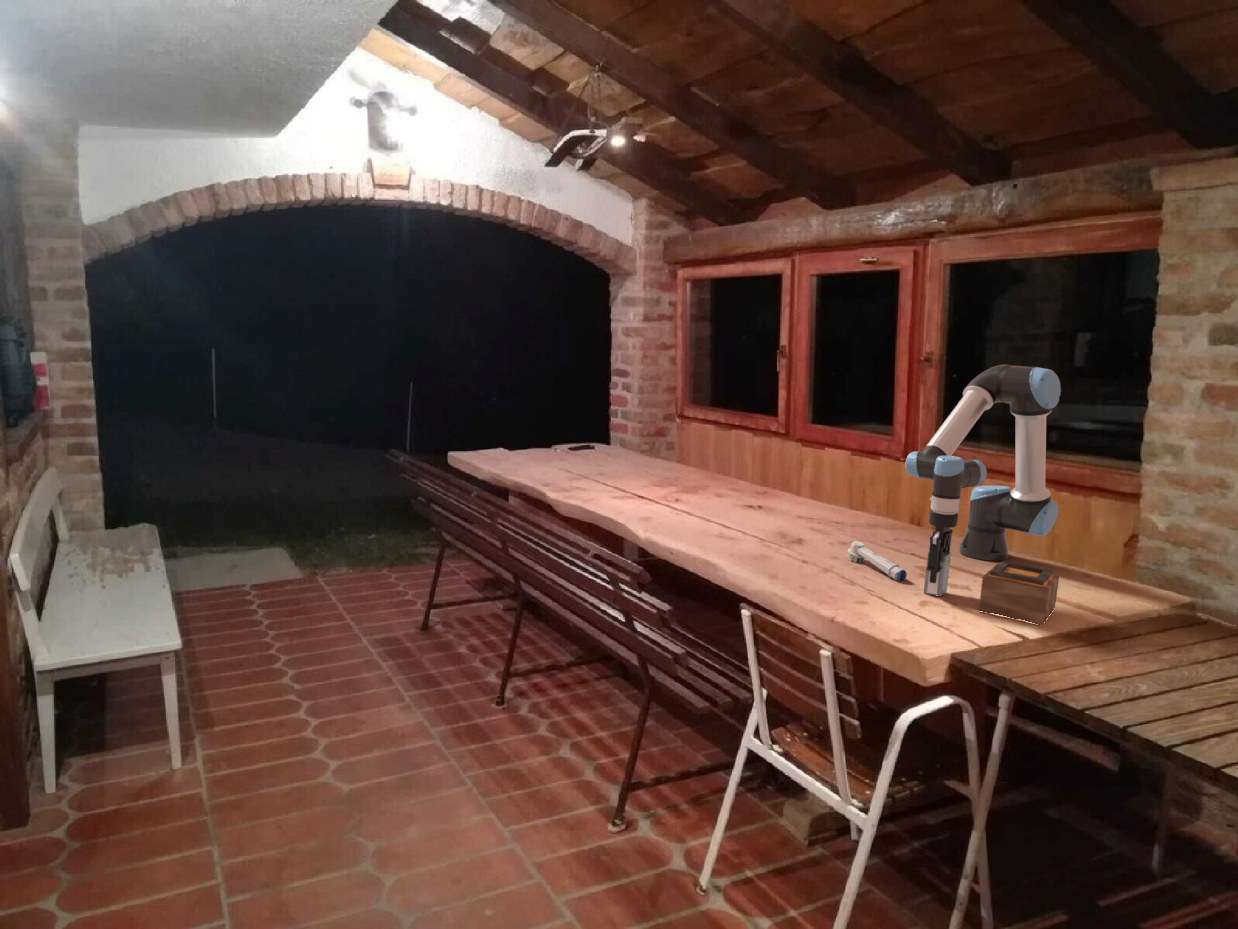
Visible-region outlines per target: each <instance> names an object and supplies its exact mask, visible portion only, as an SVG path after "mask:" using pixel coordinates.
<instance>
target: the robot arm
mask: <svg viewBox="0 0 1238 929" xmlns="http://www.w3.org/2000/svg"><path fill="white" fill-rule="evenodd" d="M1061 388H1062V387H1061V382H1060V379H1059V376H1058V375H1057V374H1056V373H1055V371H1054V370H1052V369H1049V368H1044V367H1043V368H1042V367H1039V366H1023V365H1011V364H999V365H995V366H992V367H990V368H988V369H986V370H984V371H982V372H981V373H980V374H978V375H977V376H976V377H974V378H973V379H972V380H971V381H970V382H969V383H968V384H967V385H966V387H965V388H964V389H963V392H962V397H961V399H960V400H959V401H958V403H957V405H955V406H954V408H953V410H952V411H951V412H950V414H948V416H947V418H946V419H945V420H944V422H943V423H942V424H941V426H940V427H939V428H938V430H937V431H936V432H935V433H934V435H933V436H932V438H931V439H930V440H929V442H928V443H927V444H926V445H925V447H923V449H922V450H921V451H919V450H918V451H915V450H914V451H912V452H910V453H909V454H908V455H907V457H906V459H905V463H904V464H905V465H904V467H905V468H904V469H905V471H906V473H907V474H908V475H909V476H911V477H915V478H919V479H923V480H929V481H933V482H932V483H933V484H932V492H931V497H929V501H930V502H931V503H930V509H931V510H930V511H929V517H928V524H930V526H934V528H935V529H934V530H933V531H932V535H931V536H930V537H929V549H928V550H929V551H928V552H929V558H928V567H927V568H925V571H926V570H928V571H929V579H928V588H927V593H932V594H936V595H937V594H938V585H939V576H940V572H939V567H940V562H941V555H942V551H944V552H951V544H952V543H951V542H952V536H953V533H954V530H953V529H952V528H956V527H957V526H958V520H959V514H958V512H960V502H961V494H962V493H961V492H962V489H965V488H972V490H971V496H970V499H969V501H970V502H969V510H968V511H969V512H968V519H967V528H966V531H965V533H964V535H963V538H962V539H961V541H960V543H959V546H958V547H959V548H958V552H959V553H960V554H961V555H963V556H966V557H968V558H973V559H975V560H981V561H982V560H983V561H991V562H992V561H993V562H995V561H996V562H997V561H998V562H999V561H1000V562H1001V561H1006V560H1007V559H1008V558H1009V548H1008V543H1007V539H1006V538H1007V537H1006V530H1011V531H1015V532H1019V533H1023V534H1026V535H1027V534H1028V535H1029V536H1032V535H1033V536H1037V537H1038V536H1040V537H1044V536H1046V535H1047V534H1048V533H1050V531H1051V530H1052V529H1053V527H1054V525H1055V524H1056V521H1057V518H1058V515H1059V505H1058V503H1057V501H1055V500H1051V498H1052V497H1051V495H1052V494H1051V491H1050V490H1049V489H1048V488H1046V467H1047V466H1046V464H1047V462H1046V458H1047V457H1046V456H1047V455H1046V452H1047V416H1049V415H1050V414H1051V413H1052V412H1053V409H1054V408H1056V406H1057V405H1058V404H1059V401H1060V397H1061V392H1062V390H1061ZM997 403H1002V404H1003V403H1005V404H1008V405H1009V411H1010V413H1011V415H1013V416H1014V418H1015V420H1014V421H1015V426H1014V427H1015V429H1014V430H1015V432H1014V433H1015V437H1014V438H1015V440H1014V441H1015V444H1014V445H1015V447H1014V448H1015V451H1014V452H1015V455H1014V456H1015V467H1014V468H1015V471H1014V472H1015V473H1014V474H1015V477H1014V479H1015V480H1014V481H1015V482H1014V483H1015V487H1014V488H1013V489H1011V487H1010V486H1007V485H995V484H994V485H981V484H982V483H983V482H984V481H985V480H986V478H987V475H988V473H987V467H986V465H985V464H984V463H983V462H982V461H980V460H978V459H967V460H965V459H963V458H962V457H959V456H955V455H953V454H954V452H955V451H956V450H957V448H958V447H959V446H960V444H961V443H962V442H963V440H964V439H965V438H966V437H967V435H968V434H969V432H970V431H971V429H972V428H973V427H974V425H975V424H976V422H977V421H978V420H979V419H980V417H981V416H982V414H983V413H984V412H985V411H987V410H989V409H991V408H992V407H993V405H994V404H997ZM973 487H974V488H973Z"/></svg>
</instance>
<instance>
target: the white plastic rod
mask: <svg viewBox="0 0 1238 929" xmlns="http://www.w3.org/2000/svg"><path fill="white" fill-rule="evenodd" d="M847 560H849V561H850V562H854V563H858V564H859V563H863V562H865V561H864V560H866V561H867V562H869V563H870V564H872V565H873V566H874V567H876V568H877V569H879V570H880V571H881V572H883V573H884V574H886V575H887V576H888V578H889V579H893V580H894V581H896V582H904V581H905V580H906V579H907V576H908V572H907V571H906V570H904V568H901V567H900V565H899V564H896V563H893V562H892V561H890V560H888V559H887V558H885V557H883V556H881V555H880V554H878V553H876V552H874V551H872V550H870V549H868V548H867V547H865V544H864V543H863V542H861V541H859V540H853V542H852V543H851V546H850V547H849V548H848V549H847Z"/></svg>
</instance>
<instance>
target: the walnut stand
mask: <svg viewBox="0 0 1238 929" xmlns="http://www.w3.org/2000/svg"><path fill="white" fill-rule="evenodd" d="M1053 572H1054V570H1053V569H1049V568H1044V567H1038V566H1033V565H1028V564H1023V563H1017V562H1012V561H1007V560H1000V562H999V563H996V564H995V565H994V566H993V567H992V568H990V569H989V571H987V572H986V573H985V574H983V575H982V580H981V590H980V596H979V605H978V612H979V611H983V612H987V613H994V614H999V615H1003V616H1007V617H1010V618H1014V619H1021V620H1025V621H1028V622H1032V623H1035V624H1038V625H1037V626H1039V625H1042V626H1041V627H1043V626H1044V625H1045V624H1044V622H1045V621H1046V619H1047V618H1048V617H1049V615H1050V614H1051V613H1052V611H1053V610H1054V608H1056V602H1057V595H1058V588H1059V587H1058V586H1059V580H1060V575H1059V574H1055V573H1053ZM1052 614H1053V613H1052ZM1052 614H1051V615H1052ZM1049 618H1050V617H1049ZM1049 618H1048V619H1049ZM1046 622H1047V621H1046ZM1046 622H1045V623H1046ZM1043 624H1044V625H1043Z"/></svg>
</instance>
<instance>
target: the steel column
mask: <svg viewBox="0 0 1238 929" xmlns="http://www.w3.org/2000/svg"><path fill="white" fill-rule="evenodd" d="M951 557H952V552H951V551H950V552H944V551H942V555H941V562H940V567H939V572H940V576H939V585H938V594H937V595H938V596H942V595H944V594H945V593H946V594H947V593H948V592H947V591H948V583H949V574H950V567H951V561H952V559H951ZM928 558H929V551H928V552H927V558H926V568H927V567H928ZM926 568H925V577H924V584H923V585H924V586H923V587H924V588H923V594H924V593H926V594H925V595H928V594H930V595H929V596H933V595H936V594H932V593H927V588H928V579H929V571H928V570H926ZM946 594H945V595H946ZM945 595H944V596H945ZM942 597H943V596H942Z"/></svg>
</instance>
